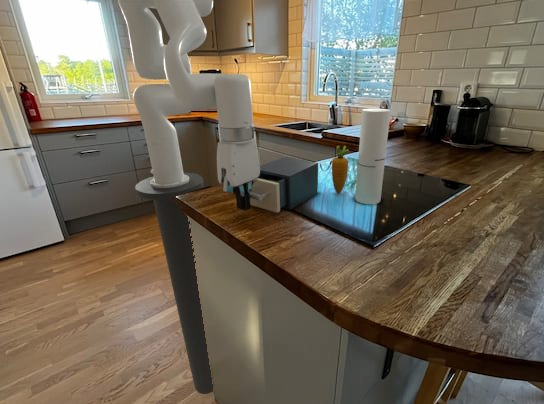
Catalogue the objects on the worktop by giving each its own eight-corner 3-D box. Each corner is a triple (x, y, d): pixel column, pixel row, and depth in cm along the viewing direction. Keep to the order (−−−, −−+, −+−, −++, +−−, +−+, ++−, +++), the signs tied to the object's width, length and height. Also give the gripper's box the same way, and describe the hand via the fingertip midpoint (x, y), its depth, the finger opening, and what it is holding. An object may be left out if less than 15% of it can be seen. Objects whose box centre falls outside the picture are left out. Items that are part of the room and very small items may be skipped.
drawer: (267, 219, 73) (265, 189, 70) (234, 208, 79) (231, 180, 76) (305, 196, 87) (305, 170, 84) (275, 188, 93) (274, 164, 90)
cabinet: (290, 210, 80) (289, 176, 76) (255, 200, 87) (252, 168, 83) (317, 193, 91) (318, 162, 87) (284, 185, 98) (283, 157, 94)
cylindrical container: (385, 202, 84) (396, 110, 74) (361, 205, 82) (370, 112, 72) (373, 193, 90) (381, 108, 80) (351, 196, 89) (357, 109, 79)
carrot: (342, 190, 93) (344, 142, 87) (349, 196, 89) (352, 146, 83) (327, 192, 92) (329, 144, 86) (334, 198, 87) (336, 147, 81)
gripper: (247, 127, 74) (253, 196, 81) (199, 138, 63) (210, 216, 70) (271, 130, 70) (274, 201, 77) (223, 142, 59) (232, 224, 66)
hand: (243, 208), depth 74 cm, fingers closed
